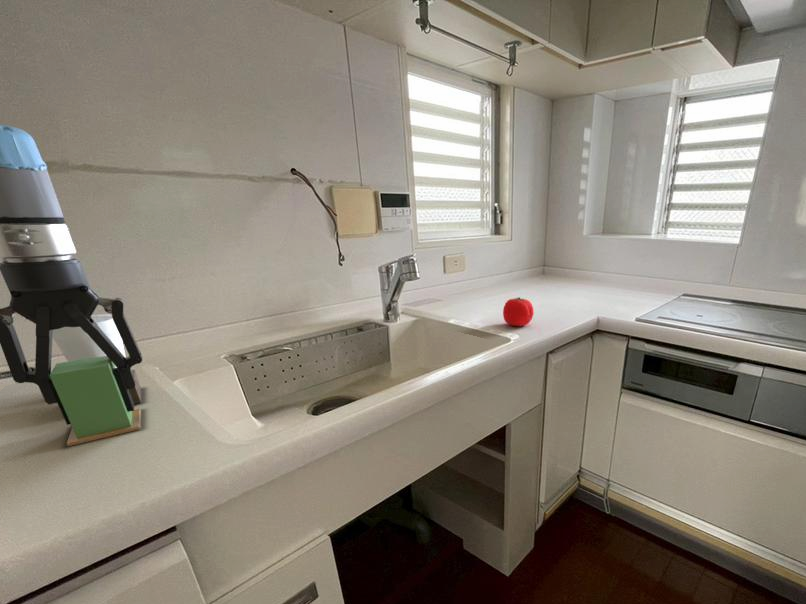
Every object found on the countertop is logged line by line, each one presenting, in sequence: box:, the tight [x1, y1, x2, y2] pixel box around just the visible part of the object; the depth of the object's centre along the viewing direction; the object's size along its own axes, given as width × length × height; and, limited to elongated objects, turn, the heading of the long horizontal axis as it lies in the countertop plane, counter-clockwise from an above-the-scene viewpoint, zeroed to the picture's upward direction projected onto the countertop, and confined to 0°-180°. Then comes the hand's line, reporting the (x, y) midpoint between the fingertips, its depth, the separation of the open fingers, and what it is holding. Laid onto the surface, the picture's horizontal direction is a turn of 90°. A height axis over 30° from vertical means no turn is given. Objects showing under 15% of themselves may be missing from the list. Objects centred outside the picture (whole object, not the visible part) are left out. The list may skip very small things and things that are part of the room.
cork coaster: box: [66, 408, 142, 447], centre depth 63 cm, size 8×8×1 cm
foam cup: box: [52, 313, 126, 368], centre depth 75 cm, size 10×9×13 cm
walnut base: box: [129, 369, 142, 405], centre depth 71 cm, size 8×8×4 cm
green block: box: [50, 356, 132, 438], centre depth 61 cm, size 6×6×10 cm
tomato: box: [502, 297, 535, 327], centre depth 122 cm, size 9×10×8 cm
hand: (102, 414), depth 62 cm, fingers closed on green block, 6 cm apart
